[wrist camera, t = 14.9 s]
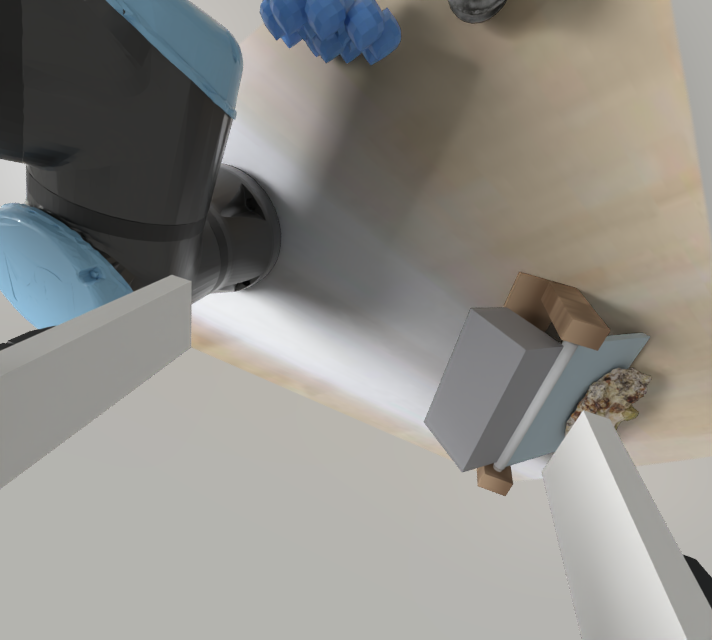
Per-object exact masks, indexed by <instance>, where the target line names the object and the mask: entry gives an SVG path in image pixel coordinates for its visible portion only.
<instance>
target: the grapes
mask: <svg viewBox="0 0 712 640" xmlns="http://www.w3.org/2000/svg"><path fill="white" fill-rule="evenodd" d="M260 14H261V17H262V19H263V21H264V24H265V26H266V27H267V29H268V30H269V31H270V33H271V34H272V35H273V36H274V38H275V39H276V40H278V39H279V38H282V40H283V41H284V42H285V44H286V45H287V46H288V47H289V48H291V47H292V46H294V45H296V44H297V43H298V42H300V41H301V40H302V39H303V40H304V41H305V42H306V44H307V46H308V47H309V48H310V50H311V51H312V53H313V54H314V55H315V56H316V57H318V56H319V55H320V56H321V58H322V59H323V60H324V61H325V63H328V62H329V61H331V60H333V59H334V58H335V57H337V56H338V55H339V54H340V55H341V57H342V58H343V60H344V61H345V62H346V64H347V63H349V62H351V61H352V60H354V59H355V58H356V57H357V56H359V55H360V54H361V53H362V54H363V55H364V57H365V59H366V60H367V62H368V63H369V64H370V65H373V64H374V63H376V62H378V61H379V60H381V59H383V58H385V57H386V56H387V55H389V54H390V53H391V52H392V51H394V50H395V49H396V48H397V47H398V45H399V43H400V42H401V28H400V26H399V24H398V22H397V21H396V19H395V17H394V16H393V14H392V13H391V12H390V10H389V9H388V8H386V9H385V10H383V11H381V9H380V7H379V6H378V4H377V2H376V1H375V0H263V1H262V3H261V6H260Z"/></svg>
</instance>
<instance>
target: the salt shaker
mask: <svg viewBox="0 0 712 640" xmlns="http://www.w3.org/2000/svg"><path fill="white" fill-rule="evenodd" d="M506 1H507V0H448V2H449V5H450V7H451V9H452V11H453V12H454V14H455V15H456V16H457V17H458V18H459V19H461V20H463V21H464V22H468V23H480V22H483V21H485V20H488V19H490V18H491V17H492V16H494V15H495V14H497V13H498V11H499V10H500V9H501V8H502V7H503V6H504V4H505V3H506Z"/></svg>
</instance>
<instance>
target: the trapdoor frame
mask: <svg viewBox="0 0 712 640" xmlns="http://www.w3.org/2000/svg"><path fill="white" fill-rule="evenodd" d="M503 307H507V308H509V309H510V310H512V311H513V312H515V313H516V314H518V315H519V316H521V317H522V318H524V319H525V320H527V321H528V322H529V323H531V324H532V325H534V326H535V327H537V328H538V329H540V330H541V331H543V332H544V333H545V332H546V330H547V329H548V327H549V325H550V323H551V321H552V323H553V325H554V327H555V329H556V331H557V333H558V335H559V337H560V339H561V340H564V341H567V342H570V343H574V344H577V345H580V346H583V347H587V348H590V349H593V350H596V351H598V350H599V348H600V347H601V345H602V344H603V342H604V340H605V339H606V337H607V336H608V334H609V333H610V331H611V330H610V329H609V328H608V326H607V325H606V324H605V323H604V321H603V320H602V319H601V318H600V316H599V315H598V314H597V313H596V311H595V310H594V309H593V308H592V306H591V305H590V304H589V303H588V301H587V300H586V299H585V298H584V296H583V295H582V294H581V293H580V291H579V290H578V289H577V288H574V287H571V286H567V285H564V284H560V283H557V282H553V281H550V280H546V279H543V278H539V277H536V276H533V275H529V274H526V273H522V272H519V274H518V276H517V278H516V280H515V282H514V285H513V287H512V289H511V291H510V293H509V295H508V298H507V300H506V302H505V304H504V306H503ZM477 481H478V486H479V487H482V488H484V489H487V490H490V491H492V492H495V493H498V494H501V495H503V496H506V494H507V493H508V491H509V490H510V488H511V487H512V485H513V480H512V473H511V467H510V466H507V467H505V469H503V470H501V469H498V468H497V467H496V466H495V465H494V463H492V464H489V465H486V466H482V467H479V468H477Z"/></svg>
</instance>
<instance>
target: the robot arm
mask: <svg viewBox="0 0 712 640" xmlns="http://www.w3.org/2000/svg"><path fill="white" fill-rule="evenodd" d="M242 71H243V57H242V53H241V50H240V47H239V45H238V43H237V41H236V39H235V38H234V36H233V35H232V34H231V33H230V32H229V31H228V30H227V29H226V28H225V27H224V26H222V25H221V24H220V23H219V22H217V21H216V20H215V19H213V18H212V17H210V16H209V15H208V14H206V13H205V12H204V11H203V10H201V9H200V8H198V7H197V6H196V5H194V4H193V3H192V2H190V1H188V0H0V159H4V160H9V161H14V162H19V163H24V164H26V176H27V177H26V201H25V203H24V204H19V203H9V204H4V205H3V206H1V208H0V290H1V292H2V293H3V294H4V295H5V297H6V298H7V299H8V300H9V301H10V302H11V304H12V305H13V306H14V308H15V309H16V310H17V311H18V312H19V313H20V314H21V315H22V316H24V318H25V319H27V320H28V321H29V322H30V323H31V324H33V325H34V326H35V327H36V328H37V329H38V330H34V331H29V332H27V333H25V334H22V335H20V336H18V337H15V338H13V339H11V340H8V342H7V343H6V344H5V343H2V344H0V489H1V488H2V487H3V486H5V485H6V484H8V483H9V482H10V481H12V480H13V479H14V478H15V477H17V476H18V475H20V474H21V473H23V472H24V471H25V470H26V469H28V468H29V467H31V466H32V465H33V464H35V463H36V462H37V461H39V460H40V459H41V458H43V457H44V456H45V455H47V454H48V453H49V452H51V451H52V450H53V449H55V448H56V447H58V446H59V445H60V444H62V443H63V442H64V441H65V440H67V439H68V438H70V437H71V436H72V435H74V434H75V433H76V432H78V431H79V430H80V429H81V428H83V427H85V426H86V425H87V424H89V423H90V422H91V421H92V420H94V419H95V418H97V417H98V416H99V415H101V414H102V413H103V412H105V411H106V410H107V409H109V408H110V407H111V406H113V405H114V404H115V403H117V402H118V401H120V400H121V399H122V398H124V397H125V396H126V395H128V394H129V393H130V392H132V391H133V390H134V389H136V388H137V387H138V386H140V385H141V384H143V383H144V382H145V381H146V380H148V379H149V378H151V377H152V376H153V375H155V374H156V373H157V372H159V371H160V370H161V369H163V368H164V367H165V366H167V365H168V364H169V363H171V362H172V361H173V360H175V359H176V358H177V357H179V356H180V355H182V354H183V353H184V352H186V351H187V350H188V349H190V348H191V304H193V303H195V302H196V301H198V300H200V299H201V298H203V297H205V296H206V295H208V294H210V293H223V292H235V291H240V290H243V289H246V288H248V287H250V286H252V285H254V284H255V283H257V282H258V281H260V280H261V279H263V278H264V277H265V276H266V275H267V274H268V273H269V272H270V271H271V270H272V268H273V266H274V265H275V263H276V260H277V258H278V255H279V251H280V244H281V233H280V225H279V221H278V217H277V214H276V211H275V209H274V207H273V205H272V203H271V201H270V199H269V197H268V196H267V194H266V193H265V192H264V190H263V189H262V188H261V187H260V185H259V184H258V183H257V182H256V181H255V180H253V179H252V178H251V177H250V176H249V175H247V174H246V173H244V172H243V171H241V170H239V169H237V168H235V167H232V166H229V165H226V164H221V162H222V158H223V154H224V151H225V147H226V143H227V140H228V136H229V132H230V129H231V125H232V121H233V119H236V110H235V106H236V101H237V95H238V90H239V86H240V81H241V76H242ZM542 476H543V480H544V484H545V489H546V493H547V497H548V501H549V505H550V510H551V514H552V518H553V522H554V526H555V530H556V535H557V539H558V542H559V547H560V551H561V555H562V560H563V564H564V568H565V572H566V576H567V580H568V584H569V589H570V593H571V597H572V601H573V606H574V609H575V614H576V618H577V622H578V626H579V630H580V635H581V639H582V640H712V577H711V576H710V575H709V574H708V573H707V572H706V571H705V569H704V568H703V567H702V566H701V565H700V564H699V562H698V561H697V560H696V559H693V558H691V557H688V556H685V555H683V554H682V553H681V551H680V549H679V547H678V545H677V543H676V542H675V540H674V538H673V536H672V534H671V532H670V530H669V528H668V527H667V525H666V523H665V521H664V519H663V517H662V515H661V514H660V512H659V510H658V508H657V506H656V504H655V502H654V500H653V499H652V497H651V495H650V493H649V491H648V489H647V487H646V486H645V484H644V482H643V480H642V478H641V476H640V474H639V473H638V471H637V469H636V467H635V465H634V463H633V461H632V459H631V458H630V456H629V454H628V452H627V450H626V448H625V446H624V445H623V443H622V441H621V439H620V437H619V435H618V433H617V431H616V430H615V428H614V426H613V424H612V422H611V420H610V419H608V418H605V417H602V416H599V415H596V414H593V413H590V412H587V411H584V410H583V411H582V413H581V414H580V416H579V417H578V419H577V420H576V422H575V423H574V425H573V426H572V428H571V429H570V431H569V432H568V434H567V435H566V437H565V438H564V440H563V441H562V442H561V444H560V445H559V447H558V448H557V450H556V451H555V453H554V454H553V456H552V457H551V459H550V460H549V462H548V463H547V465H546V466H545V468H544V469H543V471H542Z"/></svg>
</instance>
